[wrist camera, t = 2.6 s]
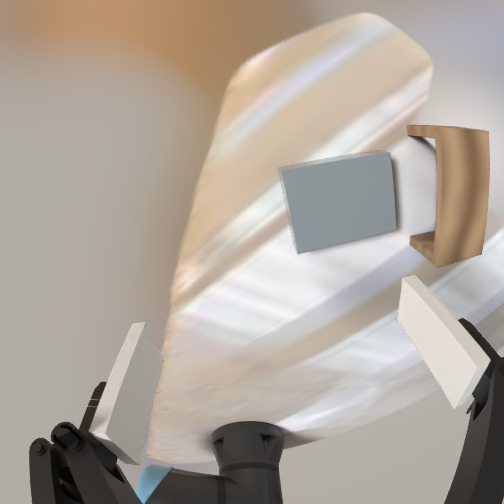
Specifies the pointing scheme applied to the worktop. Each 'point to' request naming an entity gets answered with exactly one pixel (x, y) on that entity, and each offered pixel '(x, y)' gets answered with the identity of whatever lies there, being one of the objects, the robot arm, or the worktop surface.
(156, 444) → the worktop surface
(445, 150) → the tan wooden channel
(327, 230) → the tile
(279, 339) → the worktop surface
